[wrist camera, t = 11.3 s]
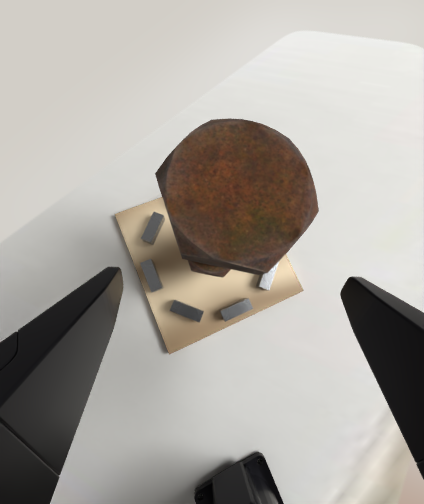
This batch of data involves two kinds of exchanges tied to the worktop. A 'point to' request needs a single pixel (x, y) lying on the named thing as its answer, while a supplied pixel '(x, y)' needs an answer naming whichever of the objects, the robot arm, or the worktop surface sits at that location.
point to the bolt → (236, 196)
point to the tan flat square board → (194, 282)
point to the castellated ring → (180, 307)
